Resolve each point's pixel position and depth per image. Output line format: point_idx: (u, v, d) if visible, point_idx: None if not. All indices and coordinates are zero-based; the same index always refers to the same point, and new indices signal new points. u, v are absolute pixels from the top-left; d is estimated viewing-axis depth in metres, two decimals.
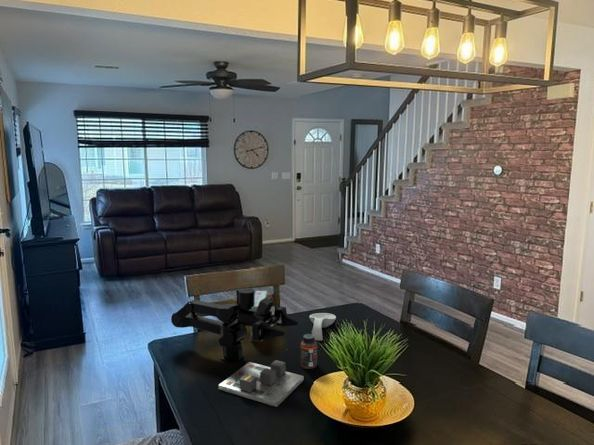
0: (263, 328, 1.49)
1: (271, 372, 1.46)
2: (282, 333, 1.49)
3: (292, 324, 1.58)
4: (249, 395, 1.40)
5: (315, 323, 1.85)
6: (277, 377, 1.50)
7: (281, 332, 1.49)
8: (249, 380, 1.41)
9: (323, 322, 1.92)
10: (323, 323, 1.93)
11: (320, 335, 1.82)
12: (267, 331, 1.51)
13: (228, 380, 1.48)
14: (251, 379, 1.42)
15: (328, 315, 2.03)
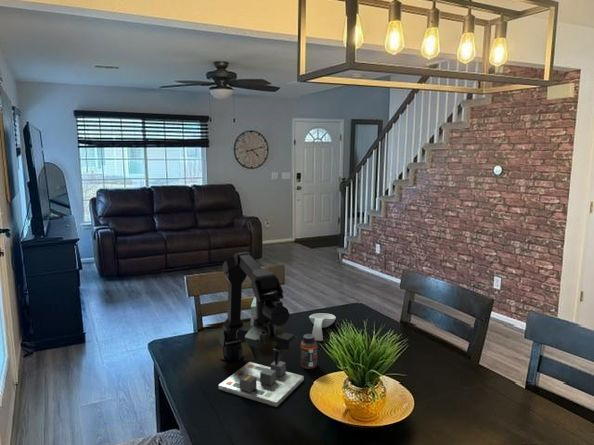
0: None
1: (271, 372, 1.46)
2: None
3: None
4: (249, 395, 1.40)
5: (315, 323, 1.85)
6: (277, 377, 1.50)
7: None
8: (249, 380, 1.41)
9: (323, 322, 1.91)
10: (323, 323, 1.93)
11: (320, 335, 1.82)
12: None
13: (228, 380, 1.48)
14: (251, 379, 1.42)
15: (328, 315, 2.03)
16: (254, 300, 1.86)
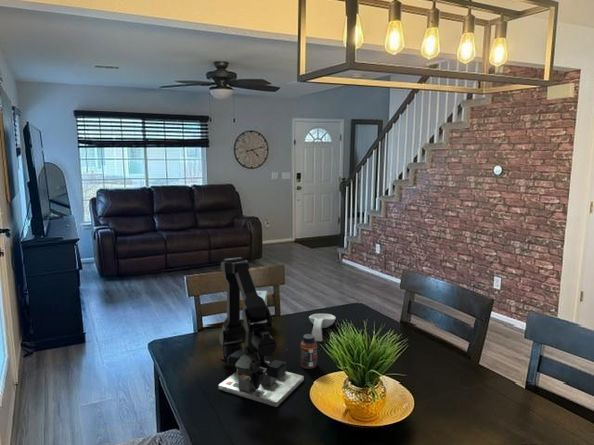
0: None
1: None
2: None
3: None
4: (249, 395, 1.40)
5: (315, 324, 1.84)
6: None
7: None
8: (248, 380, 1.41)
9: (322, 322, 1.91)
10: (323, 324, 1.92)
11: (320, 336, 1.81)
12: None
13: (228, 380, 1.48)
14: (250, 379, 1.42)
15: (328, 316, 2.03)
16: None
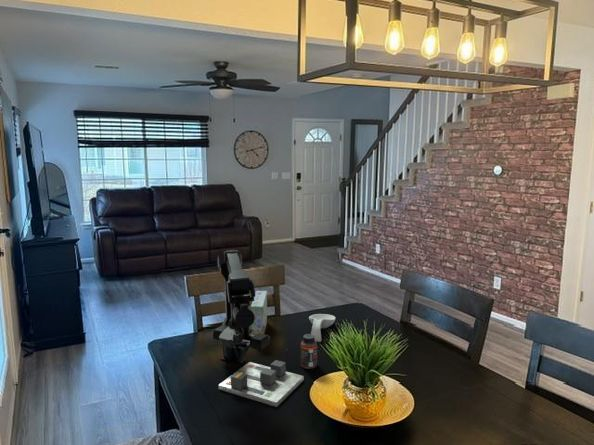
0: None
1: (271, 372, 1.46)
2: None
3: None
4: (249, 395, 1.40)
5: (314, 324, 1.84)
6: (277, 377, 1.50)
7: None
8: (240, 377, 1.43)
9: (322, 323, 1.90)
10: (322, 324, 1.92)
11: (319, 336, 1.81)
12: None
13: (228, 380, 1.48)
14: (242, 377, 1.43)
15: (328, 316, 2.02)
16: (254, 300, 1.87)
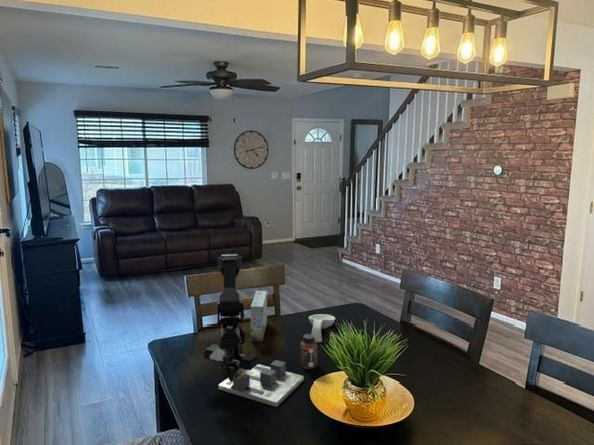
0: None
1: (271, 372, 1.46)
2: None
3: None
4: (249, 395, 1.40)
5: (314, 324, 1.83)
6: (277, 377, 1.50)
7: None
8: (242, 378, 1.42)
9: (322, 323, 1.90)
10: (322, 324, 1.91)
11: (319, 337, 1.81)
12: None
13: (228, 380, 1.48)
14: (244, 377, 1.43)
15: (327, 316, 2.02)
16: (254, 300, 1.87)
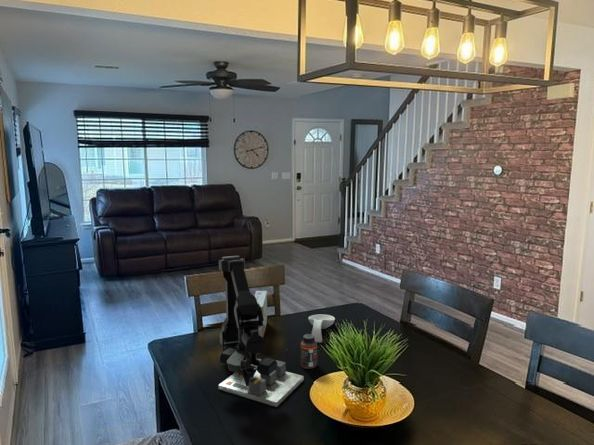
0: None
1: None
2: None
3: None
4: (249, 395, 1.40)
5: (314, 325, 1.83)
6: (277, 377, 1.50)
7: None
8: (259, 383, 1.39)
9: (322, 323, 1.90)
10: (322, 325, 1.91)
11: (320, 337, 1.80)
12: None
13: (228, 380, 1.48)
14: (261, 382, 1.40)
15: (327, 316, 2.01)
16: None
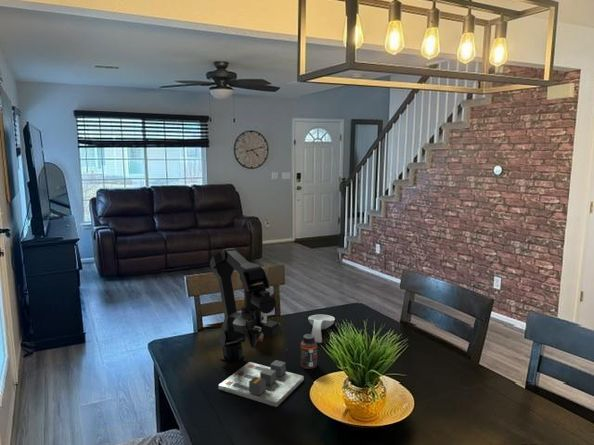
0: None
1: (271, 372, 1.46)
2: None
3: None
4: (249, 395, 1.40)
5: (314, 325, 1.83)
6: (277, 377, 1.50)
7: None
8: (258, 383, 1.39)
9: (322, 323, 1.90)
10: (322, 325, 1.91)
11: (319, 337, 1.80)
12: None
13: (228, 380, 1.48)
14: (261, 382, 1.40)
15: (327, 317, 2.01)
16: None
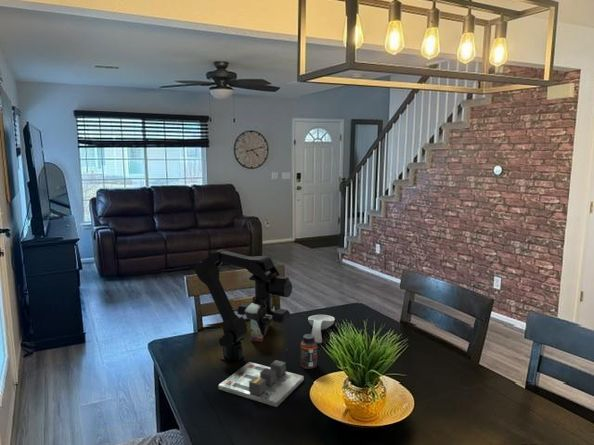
0: None
1: (271, 372, 1.46)
2: None
3: None
4: (249, 395, 1.40)
5: (314, 325, 1.83)
6: (277, 377, 1.50)
7: None
8: (258, 383, 1.39)
9: (322, 324, 1.89)
10: (322, 325, 1.90)
11: (319, 337, 1.80)
12: None
13: (228, 380, 1.48)
14: (261, 382, 1.40)
15: (327, 317, 2.01)
16: None
